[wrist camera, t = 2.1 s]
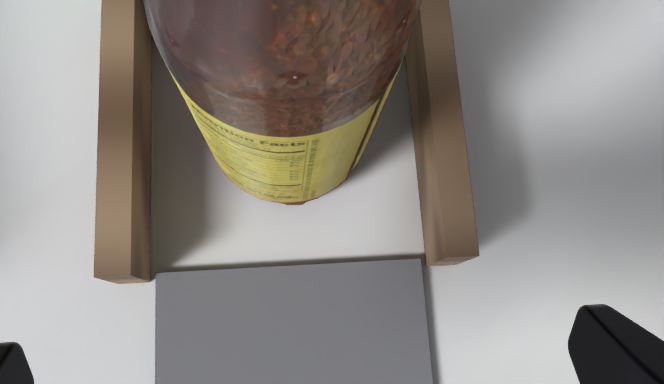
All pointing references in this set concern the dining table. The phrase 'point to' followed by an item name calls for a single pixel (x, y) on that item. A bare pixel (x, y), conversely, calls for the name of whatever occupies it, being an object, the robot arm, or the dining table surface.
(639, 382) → the robot arm
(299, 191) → the sauce bottle
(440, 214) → the bottle holder
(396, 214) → the dining table surface
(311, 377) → the rubber mat
